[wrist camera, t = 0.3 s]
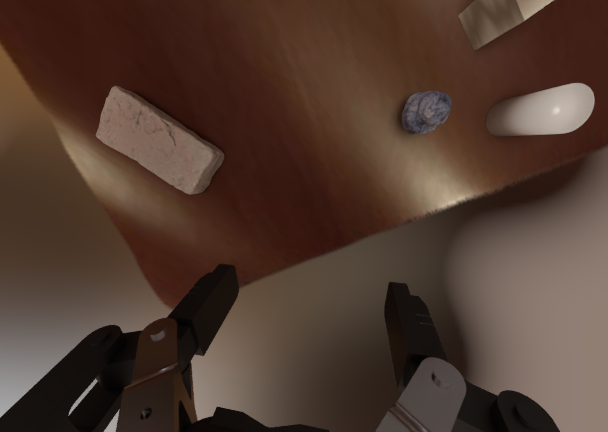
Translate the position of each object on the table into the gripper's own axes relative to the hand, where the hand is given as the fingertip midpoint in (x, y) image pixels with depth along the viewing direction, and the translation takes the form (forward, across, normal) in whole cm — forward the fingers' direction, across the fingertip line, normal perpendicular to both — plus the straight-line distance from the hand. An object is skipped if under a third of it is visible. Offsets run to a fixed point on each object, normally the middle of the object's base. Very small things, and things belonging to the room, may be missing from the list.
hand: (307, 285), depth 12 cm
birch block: (+33, -18, -18) cm, 42 cm away
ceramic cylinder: (+32, -24, -6) cm, 40 cm away
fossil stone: (+30, -10, -7) cm, 33 cm away
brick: (+26, +26, -3) cm, 37 cm away
